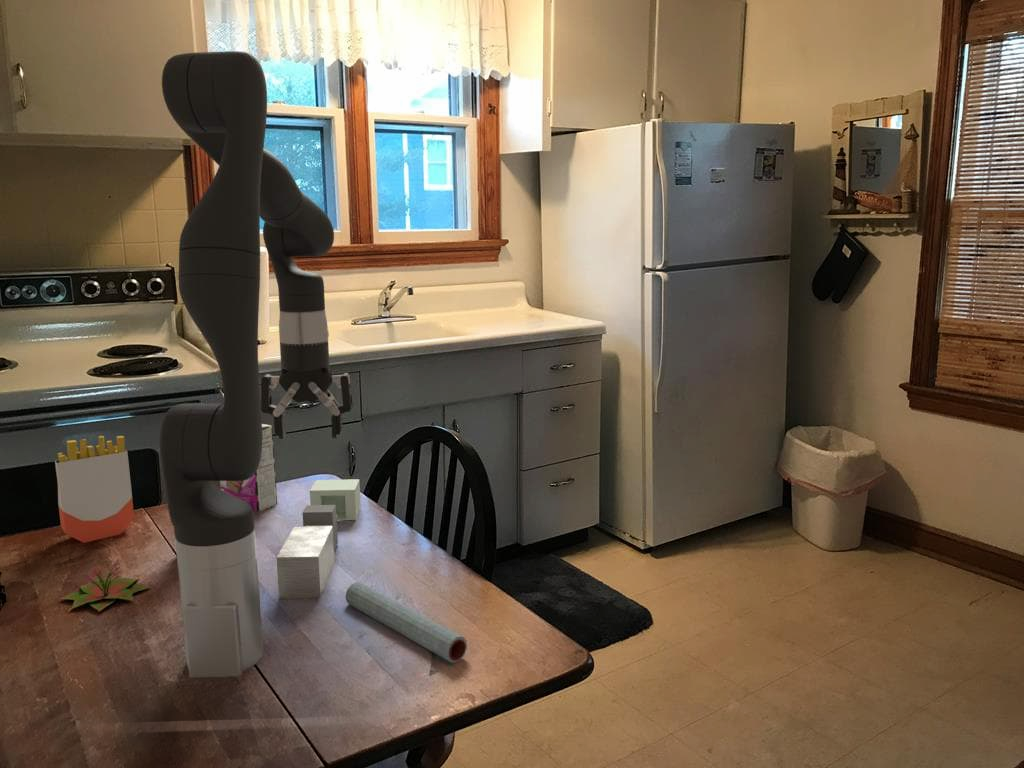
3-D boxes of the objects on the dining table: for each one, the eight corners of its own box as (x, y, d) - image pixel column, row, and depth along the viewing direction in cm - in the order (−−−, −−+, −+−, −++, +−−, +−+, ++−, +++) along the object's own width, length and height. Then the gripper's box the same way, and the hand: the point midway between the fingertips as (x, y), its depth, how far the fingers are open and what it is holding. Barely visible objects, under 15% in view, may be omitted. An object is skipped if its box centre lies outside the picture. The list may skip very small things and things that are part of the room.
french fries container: (62, 539, 144) (49, 438, 140) (129, 525, 150) (119, 428, 146) (67, 547, 140) (54, 444, 136) (135, 532, 147) (125, 433, 143)
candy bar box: (218, 504, 160) (211, 422, 157) (239, 497, 164) (233, 416, 161) (258, 515, 154) (252, 430, 151) (279, 507, 159) (273, 424, 155)
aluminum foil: (468, 657, 105) (468, 632, 105) (427, 678, 101) (426, 652, 100) (365, 600, 121) (364, 578, 121) (325, 615, 117) (324, 593, 116)
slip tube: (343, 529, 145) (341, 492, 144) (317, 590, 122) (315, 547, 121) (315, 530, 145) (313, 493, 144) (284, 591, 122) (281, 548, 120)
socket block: (360, 511, 156) (359, 479, 155) (356, 523, 150) (354, 489, 149) (317, 512, 156) (316, 480, 154) (311, 524, 150) (309, 490, 148)
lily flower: (42, 605, 121) (38, 575, 120) (115, 573, 131) (112, 546, 130) (96, 623, 115) (93, 592, 114) (168, 589, 125) (165, 560, 125)
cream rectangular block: (334, 563, 133) (332, 525, 132) (320, 597, 121) (318, 556, 120) (296, 564, 133) (294, 526, 131) (279, 598, 121) (276, 557, 120)
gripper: (252, 342, 128) (259, 444, 131) (345, 341, 129) (350, 442, 132) (264, 336, 136) (270, 432, 139) (352, 335, 136) (356, 431, 139)
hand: (309, 437), depth 135 cm, fingers open, 8 cm apart
